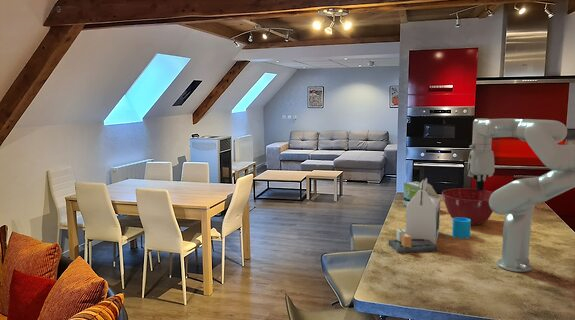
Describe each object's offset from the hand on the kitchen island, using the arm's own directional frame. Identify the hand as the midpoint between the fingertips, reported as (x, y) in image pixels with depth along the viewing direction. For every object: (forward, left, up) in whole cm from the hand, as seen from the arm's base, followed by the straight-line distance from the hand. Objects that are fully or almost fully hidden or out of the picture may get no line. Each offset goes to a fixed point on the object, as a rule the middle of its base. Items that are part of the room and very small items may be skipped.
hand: (479, 189), depth 199 cm
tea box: (+79, -5, -27) cm, 84 cm away
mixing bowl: (+45, -20, -27) cm, 56 cm away
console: (+8, +26, -27) cm, 38 cm away
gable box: (+23, +15, -28) cm, 39 cm away
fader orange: (+4, +30, -25) cm, 40 cm away
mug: (+23, -5, -27) cm, 36 cm away
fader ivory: (+12, +30, -25) cm, 41 cm away
